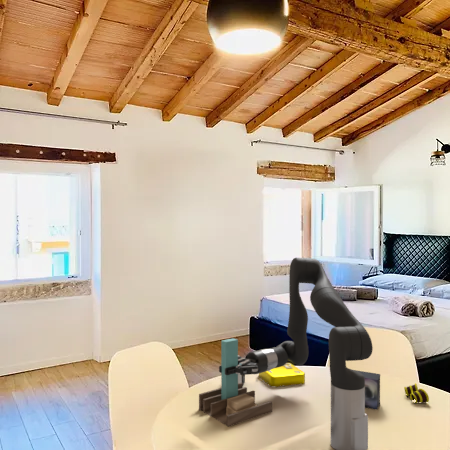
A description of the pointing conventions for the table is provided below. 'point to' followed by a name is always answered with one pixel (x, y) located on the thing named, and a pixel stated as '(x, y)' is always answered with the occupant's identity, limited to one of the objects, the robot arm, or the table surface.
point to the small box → (371, 389)
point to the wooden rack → (217, 407)
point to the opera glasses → (416, 393)
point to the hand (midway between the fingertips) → (222, 370)
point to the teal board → (228, 360)
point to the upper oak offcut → (240, 402)
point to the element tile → (283, 376)
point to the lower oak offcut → (230, 411)
